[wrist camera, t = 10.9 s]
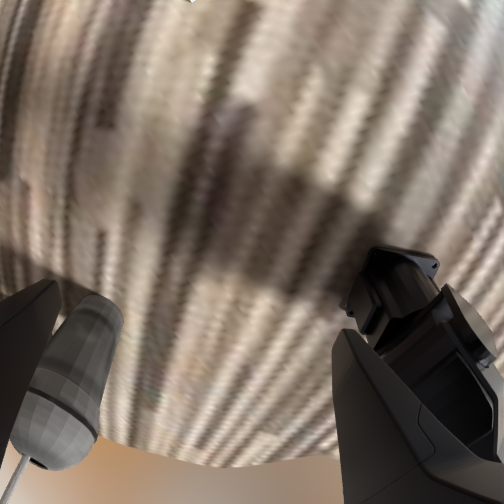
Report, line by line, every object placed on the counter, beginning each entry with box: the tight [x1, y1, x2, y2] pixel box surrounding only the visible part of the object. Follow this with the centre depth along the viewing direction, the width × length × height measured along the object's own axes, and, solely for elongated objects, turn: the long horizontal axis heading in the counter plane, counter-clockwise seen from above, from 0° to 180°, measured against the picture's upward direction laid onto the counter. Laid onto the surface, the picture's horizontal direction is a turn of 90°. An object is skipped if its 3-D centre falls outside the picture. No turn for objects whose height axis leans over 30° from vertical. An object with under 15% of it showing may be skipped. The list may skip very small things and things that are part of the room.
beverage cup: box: [0, 295, 124, 504], centre depth 18 cm, size 7×7×20 cm
